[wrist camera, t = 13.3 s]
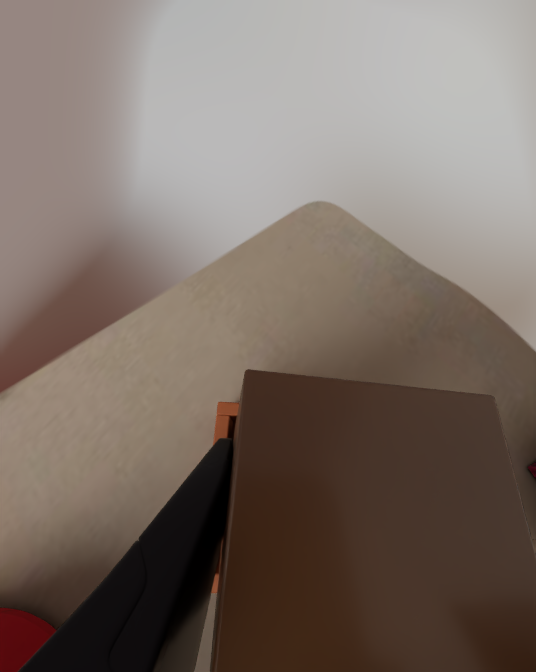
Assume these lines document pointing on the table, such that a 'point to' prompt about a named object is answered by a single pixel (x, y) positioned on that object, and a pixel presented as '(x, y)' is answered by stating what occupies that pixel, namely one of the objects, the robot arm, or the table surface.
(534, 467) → the numbered block arch
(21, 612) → the alarm clock
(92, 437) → the table surface
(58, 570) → the table surface
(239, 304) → the table surface
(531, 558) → the brown rectangular block
